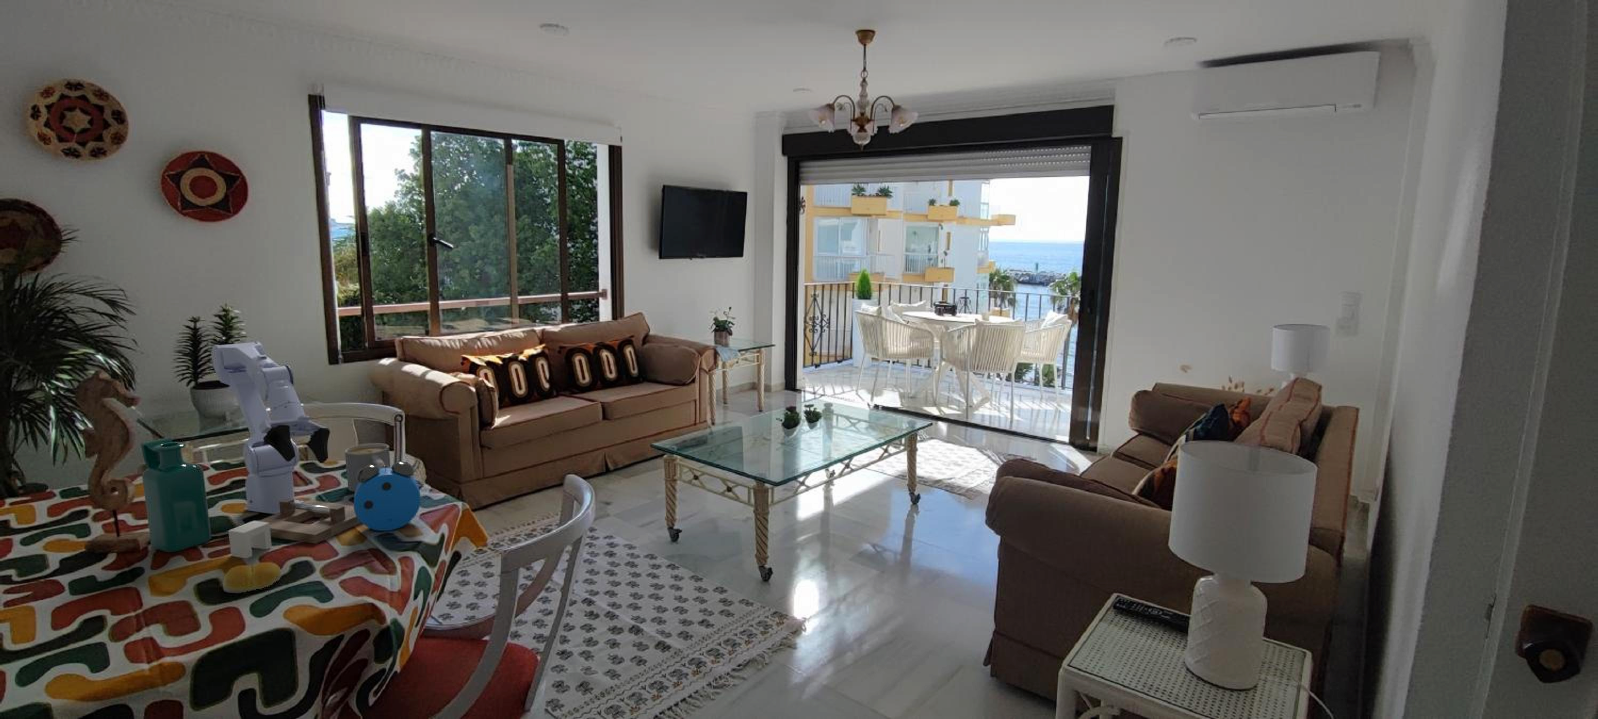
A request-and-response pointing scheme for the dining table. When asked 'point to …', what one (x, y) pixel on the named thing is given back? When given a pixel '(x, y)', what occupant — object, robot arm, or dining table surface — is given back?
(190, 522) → the teal bottle
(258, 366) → the robot arm
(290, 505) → the hook bar
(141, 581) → the dining table surface
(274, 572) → the bread roll
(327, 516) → the shelf
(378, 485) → the alarm clock
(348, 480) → the coffee mug
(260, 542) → the grey u-slotted block
